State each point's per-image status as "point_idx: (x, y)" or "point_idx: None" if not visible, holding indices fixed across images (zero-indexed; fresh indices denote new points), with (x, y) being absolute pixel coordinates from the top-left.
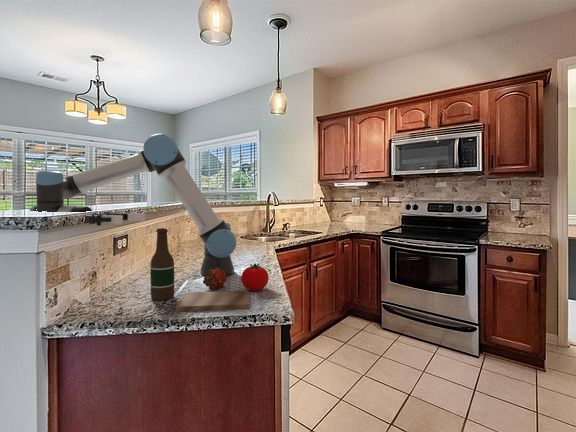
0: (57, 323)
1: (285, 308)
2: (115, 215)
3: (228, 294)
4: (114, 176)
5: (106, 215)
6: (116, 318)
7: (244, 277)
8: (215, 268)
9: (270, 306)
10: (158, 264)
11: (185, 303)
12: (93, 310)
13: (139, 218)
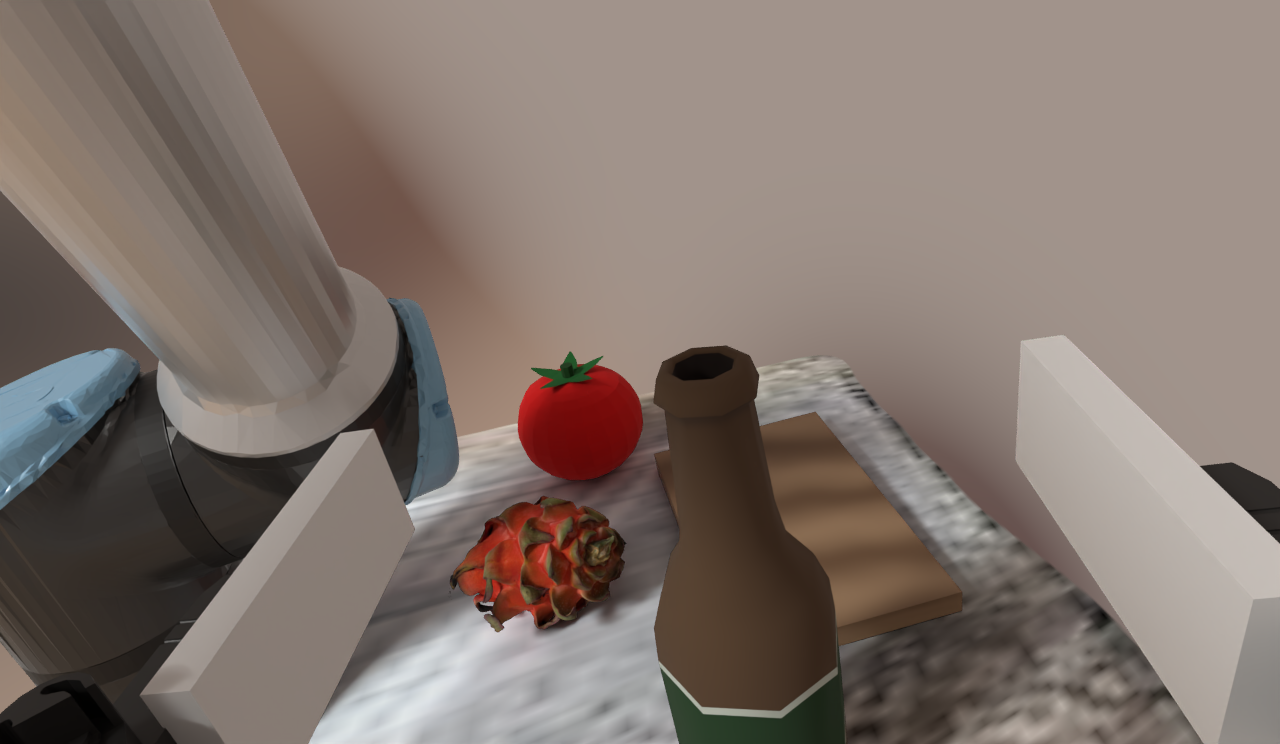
0: None
1: (782, 366)
2: (1108, 388)
3: None
4: None
5: (1236, 506)
6: None
7: (621, 424)
8: (542, 506)
9: (775, 393)
10: (830, 592)
11: (899, 578)
12: None
13: (367, 560)
